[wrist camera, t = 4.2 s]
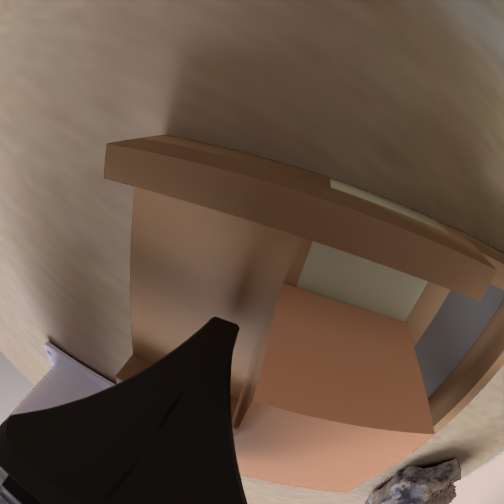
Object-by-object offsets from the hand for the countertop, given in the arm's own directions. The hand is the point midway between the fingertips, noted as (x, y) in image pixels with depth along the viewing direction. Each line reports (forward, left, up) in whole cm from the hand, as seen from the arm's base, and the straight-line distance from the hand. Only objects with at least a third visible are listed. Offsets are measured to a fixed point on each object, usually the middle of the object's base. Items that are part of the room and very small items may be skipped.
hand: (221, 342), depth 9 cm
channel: (0, -3, -3) cm, 4 cm away
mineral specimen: (-15, -18, -3) cm, 23 cm away
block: (0, -3, -1) cm, 4 cm away
